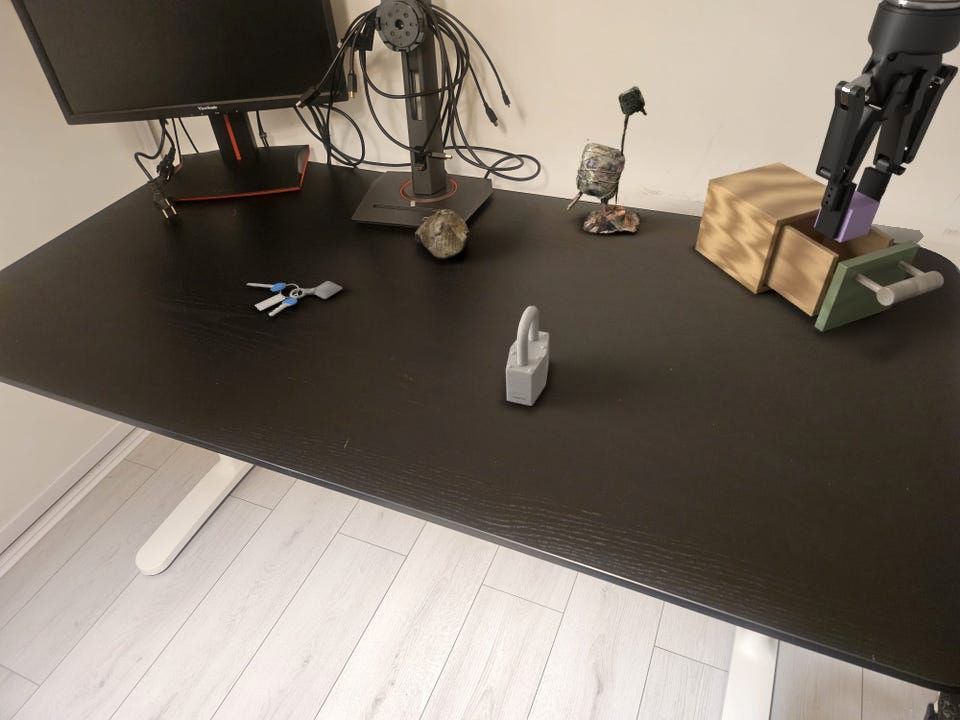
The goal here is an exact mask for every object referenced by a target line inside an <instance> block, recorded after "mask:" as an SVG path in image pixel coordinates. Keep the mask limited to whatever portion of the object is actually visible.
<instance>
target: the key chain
mask: <svg viewBox="0 0 960 720" xmlns="http://www.w3.org/2000/svg"><path fill="white" fill-rule="evenodd" d="M246 285H247V286H251V287H259V288H260V287H262V288H269V289H270V291H271V292H275V293H276V292H279V293H278V294H276V295H273V296H272V297H270V298H267V299H265V300H263V301H261V302H259V303H256V304H254V306H255V308H257V310H259V312H260V311H264V310H265V309H267V308H270V307H272V306H274V305H276V304H279V303H280V302H281V304H280V305H279V306H278V307H276V308H274V309H273V310H272V311H269V312H268V315H269V316H270V317H274V316H275V315H277V314H278V313H280V312H281V311H283V310H284V309H285V308H287V307H293V306H295V305H296V304H297V303H298V299H301V298H303V297H305V296H310V295H312V296H313V295H316V296H317V297H319V298H320V299H323V300H326V299H329V298H330V297H332V296H333V295H335V294H337V293H339V292H340V291H341V290H343V286H341V285H338V284H336V283H335V282H333V281H330V280H326V281H325V282H323V283H321V284H320V285H318V286H316V287H312V288H311V287H310V288H301V287H299V285H297V284H295V283H288V284H286V283H284V282H277V283H275V284H263V283H254V282H253V283H252V282H248V283H246ZM291 285H292V286H295V287H297V288H294V289H292V290H291V291H290V293H289V296H284V295H283V294H282V291H283V290H284V289H286V288H287V286H291ZM300 291H301V294H300V295H299V292H300ZM294 293H295V294H294Z"/></svg>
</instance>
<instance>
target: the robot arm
mask: <svg viewBox="0 0 960 720" xmlns="http://www.w3.org/2000/svg"><path fill="white" fill-rule="evenodd" d="M867 42H868V44H869V46H870V47H871V55H870V56H869V59H868V60H867V62H866V64H865V65H864V66H863V68H862V71H861V74H860V75H859V76H858V77H857V78H854V79H853V80H852V81H846V80H840V81H839V82H838V83H837V84H836V86H835V88H834V106H833V110H832V113H831V117H830V121H829V123H828V127H827V131H826V135H825V138H824V141H823V144H822V147H821V152H820V155H819V159H818V162H817V166H816V168H815V175H816V176H819V177H821V179H825V180H827V184H826V186H827V187H826V190H825V193H824V196H823V199H822V202H821V210H820V213H819V216H818V219H817V222H816V225H815V228H814V229H815V230H816V231H818V232H820V233H822V234H823V235H825V236H827V237H828V238H830V239H832V240H833V239H836V238H837V237H838V234H839V232H840V229H841V226H842V224H843V221H844V218H845V216H846V213H847V210H848V208H849V206H850V203H851V200H852V197H853V195H854V192H855V191H857V192H859V193H862V194H864V195H866V196H868V197H870V198H872V199H874V200H876V201H878V202H880V203H881V200H882V198H883V197H884V195H885V193H886V191H887V188H888V186H889V183H890V181H891V178H892V176H893V175H895V176H898V177H900V176H902V175H904V173H905V172H906V170H907V168H906V167H904V166H903V164H906V165H909V164H911V163H913V161H914V160H915V158H916V156H917V154H918V151H919V150H920V148H921V145H922V142H923V140H924V138H925V136H926V134H927V133H928V132H927V131H928V130H929V127H930V125H931V123H932V120H934V119H933V118H934V116H935V114H936V112H937V110H938V107H939V106H940V104H941V102H942V101H941V100H942V98H943V96H944V94H945V93H946V90H947V89H948V87H949V86H950V84H951V83H952V82H953V80H954V79H955V77H956V76H957V74H958V72H959V67H958V66H957V65H952V64H948V63H944V62H943V59H944V58H943V57H944V54H947V53H950V52H952V51H954V50H956V48H957V47H958V46H959V44H960V0H881V2H879V3H878V4H877V8H876V11H875V14H874V17H873V20H872V22H871V26H870V29H869V31H868V34H867ZM878 132H879V133H878ZM877 134H878V138H877V143H876V147H875V150H874V156H873V160H872V166H871V165H869V166H866V167H865V168H864V169H863V172H862V174H861V176H860V180H859V183H858V184H857V183H856V182H854V179H855V177H856V175H857V173H858V171H859V170H860V167H861V165H862V164H863V162H864V160H865V158H866V156H867V154H868V152H869V150H870V148H871V146H872V144H873V142H874V140H875V138H876V136H877ZM873 166H874V167H873Z"/></svg>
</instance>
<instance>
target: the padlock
mask: <svg viewBox="0 0 960 720" xmlns="http://www.w3.org/2000/svg"><path fill="white" fill-rule="evenodd" d="M539 321H540V314H539V309H538V308H537V306H535V305H529V306H527V307H526V309H525V310H524V312H523V313H522V315H521V318H520V321H519V323H518V328H517V334H516V338H515V339H516V340H515V341H514V342H513V343H512V345H511V346H510V348H509V352H508V358H507V362H506V366H505V383H506V384H505V385H506V386H505V387H506V388H505V389H506V401H507V402H511V403H514V404H521V405H524V406H528V407H529V406H533V405H534V404H535V403H536V401H537V399H538V398H539V396H540V395H541V393H542V391H543V390H544V389H545V387H546V386H547V378H548V372H549V365H550V363H549V359H550V333H549V332H546V331H540V322H539Z"/></svg>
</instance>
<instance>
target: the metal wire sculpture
mask: <svg viewBox="0 0 960 720" xmlns="http://www.w3.org/2000/svg"><path fill="white" fill-rule="evenodd" d="M618 103H619V107H620V109H621V113H622V115H625V116H624V121H623V132H622V134H621V135H622V136H621V142H620V149H618V148H615V147H611V146H607V145H604V144H601V143H599V142H592V143H587V144H586V145H585V146H584V148H583V151H582V154H581V160H580V161H579V162H580V163H579V164H580V165H579V167H578V169H577V170H576V171H577V175H576V177H575V181H576V183H575V184H576V188H577V190H579V192H578V193H577V194H576V195H575V196H574V197H573V199H572V201H571V203H570V204H568V206H567V210H568V211H570V210H571V209H572V208H573V207H575V204H577V203H578V201H579V200H580V199H581V198H582V196H583V195H586V196H590V197H595V198H597V199H598V200H600V208H601V209H600V210H595V209H594V210H591V211H587V213H586V214H585V220H584V223H583V230H584V231H586V232H588V233H595V234H596V233H598V234H603V233H604V234H609V233H610V234H611V233H615V232H617V231H618V232H623V231H628V232H632V233H635V232H636V231H638V229H639V225H640V224H642V222H641V219H640V218H641V217H643V216H642V214H640V213H638V212H636V213H635V212H631V213H630V212H628V211H627V210H626V208H625V206H624V205H617V204H618V194H619V185H620V180H621V177H622V173H623V171H624V170H625V165H626V157H625V154H624V148H625V140H626V132H627V129H628V124H629V118H630V116H633V115H634V114H635V113H637V114H638V113H639V112H640V113H642V115H643V116H644V117H645V116H647V115H648V113H647V111H646V109H645V106H646V101H645V97H644V95H643V94H642V91H641V90H640V87H638V85H633V86H632V87H630V88H627V89H626V90H624V91H623V92H620V94H619V95H618ZM586 141H590V139H589V138H587V139H586ZM614 197H615V198H614ZM612 199H615V204H614V205H609V201H610V200H612Z"/></svg>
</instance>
